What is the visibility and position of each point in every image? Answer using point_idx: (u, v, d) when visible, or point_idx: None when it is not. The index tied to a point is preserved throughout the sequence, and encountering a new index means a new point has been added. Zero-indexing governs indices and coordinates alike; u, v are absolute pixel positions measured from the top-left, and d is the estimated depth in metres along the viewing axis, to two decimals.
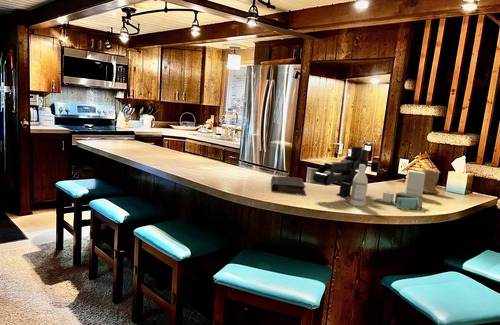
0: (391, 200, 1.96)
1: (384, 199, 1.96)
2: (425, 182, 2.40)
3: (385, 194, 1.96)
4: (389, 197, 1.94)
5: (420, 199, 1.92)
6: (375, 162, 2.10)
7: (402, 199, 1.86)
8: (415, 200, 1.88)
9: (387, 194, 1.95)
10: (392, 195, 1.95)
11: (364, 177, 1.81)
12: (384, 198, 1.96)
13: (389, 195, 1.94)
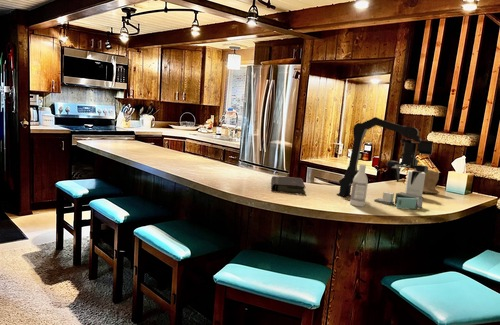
0: (391, 200, 1.96)
1: (384, 199, 1.96)
2: (425, 182, 2.40)
3: (385, 194, 1.96)
4: (389, 197, 1.94)
5: (420, 199, 1.92)
6: None
7: (402, 199, 1.86)
8: (415, 200, 1.88)
9: (387, 194, 1.95)
10: (392, 195, 1.95)
11: (364, 177, 1.81)
12: (384, 198, 1.96)
13: (389, 195, 1.94)
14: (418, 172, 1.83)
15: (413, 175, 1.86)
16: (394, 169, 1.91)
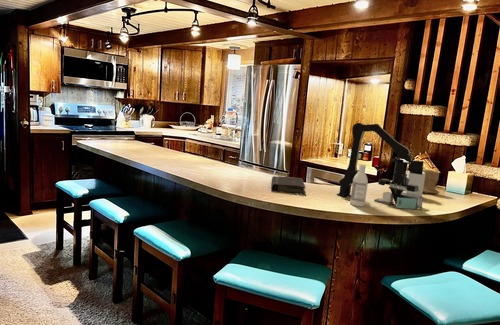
0: (391, 200, 1.96)
1: (384, 199, 1.96)
2: (425, 182, 2.40)
3: (385, 194, 1.96)
4: (389, 197, 1.94)
5: (420, 199, 1.92)
6: None
7: (402, 199, 1.86)
8: (415, 200, 1.88)
9: (387, 194, 1.95)
10: (392, 195, 1.96)
11: (364, 177, 1.81)
12: (384, 198, 1.96)
13: (389, 195, 1.94)
14: (402, 190, 1.89)
15: (397, 193, 1.91)
16: (391, 189, 1.92)
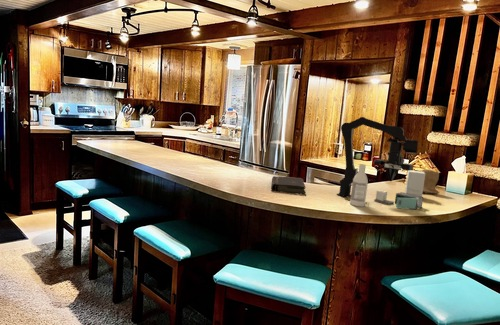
0: (384, 198, 1.98)
1: (377, 197, 1.99)
2: (425, 182, 2.40)
3: (378, 192, 1.98)
4: (382, 195, 1.97)
5: (420, 199, 1.92)
6: None
7: (402, 199, 1.86)
8: (415, 200, 1.88)
9: (380, 192, 1.97)
10: (385, 193, 1.98)
11: (364, 177, 1.81)
12: (377, 196, 1.99)
13: (382, 193, 1.97)
14: (397, 169, 1.91)
15: (392, 172, 1.93)
16: (387, 169, 1.94)
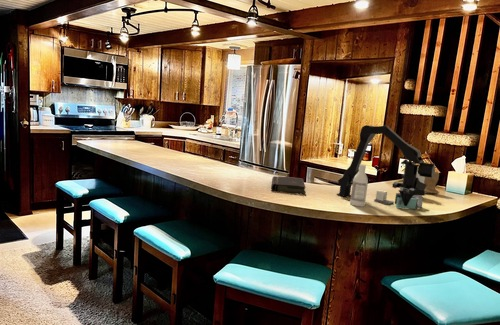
0: (384, 198, 1.98)
1: (377, 197, 1.99)
2: (425, 182, 2.40)
3: (378, 192, 1.98)
4: (382, 195, 1.97)
5: (420, 199, 1.92)
6: None
7: None
8: (415, 200, 1.88)
9: (380, 192, 1.97)
10: (385, 193, 1.98)
11: (364, 177, 1.81)
12: (377, 196, 1.99)
13: (382, 193, 1.97)
14: (406, 193, 1.80)
15: (404, 196, 1.83)
16: (400, 192, 1.85)
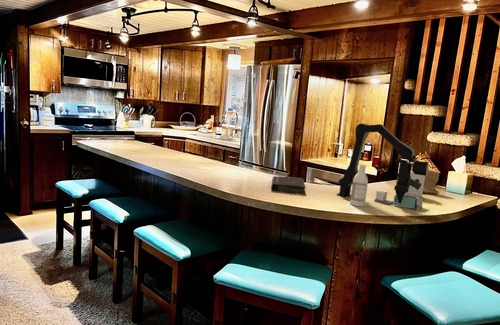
0: (384, 198, 1.98)
1: (377, 197, 1.99)
2: (425, 182, 2.40)
3: (378, 192, 1.98)
4: (382, 195, 1.97)
5: (420, 199, 1.92)
6: (407, 186, 1.81)
7: None
8: (414, 200, 1.89)
9: (380, 192, 1.97)
10: (385, 193, 1.98)
11: (364, 177, 1.81)
12: (377, 196, 1.99)
13: (382, 193, 1.97)
14: (395, 189, 1.87)
15: (396, 193, 1.89)
16: None
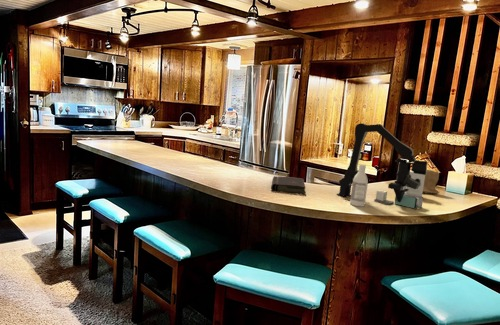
0: (384, 198, 1.98)
1: (377, 197, 1.99)
2: (425, 182, 2.40)
3: (378, 192, 1.98)
4: (382, 195, 1.97)
5: (420, 199, 1.92)
6: (400, 185, 1.84)
7: None
8: (413, 199, 1.90)
9: (380, 192, 1.97)
10: (385, 193, 1.98)
11: (364, 177, 1.81)
12: (377, 196, 1.99)
13: (382, 193, 1.97)
14: None
15: None
16: None
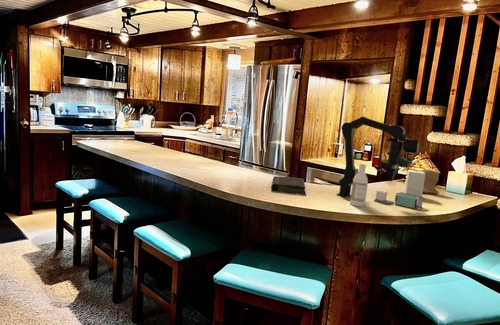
0: (384, 198, 1.98)
1: (377, 197, 1.99)
2: (425, 182, 2.40)
3: (378, 192, 1.98)
4: (382, 195, 1.97)
5: (420, 199, 1.92)
6: (392, 163, 1.85)
7: (399, 196, 1.94)
8: (413, 199, 1.90)
9: (380, 192, 1.97)
10: (385, 193, 1.98)
11: (364, 177, 1.81)
12: (377, 196, 1.99)
13: (382, 193, 1.97)
14: (384, 167, 1.91)
15: None
16: None
